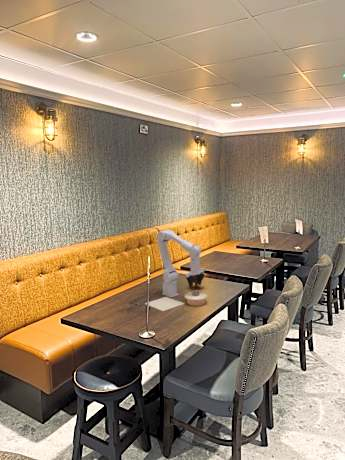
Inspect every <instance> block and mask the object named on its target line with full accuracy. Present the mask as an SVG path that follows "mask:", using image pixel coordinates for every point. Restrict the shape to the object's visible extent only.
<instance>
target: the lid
mask: <svg viewBox="0 0 345 460" xmlns="http://www.w3.org/2000/svg"><path fill="white" fill-rule="evenodd" d="M184 298H185V299H186V300H187V299H189V300H203V299H205V300H206V298H208V294H206V293H205V292H201V291H200V290H199V289H197V290H196V289H193V290H192V291H190V292H187V293H185V294H184Z"/></svg>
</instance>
